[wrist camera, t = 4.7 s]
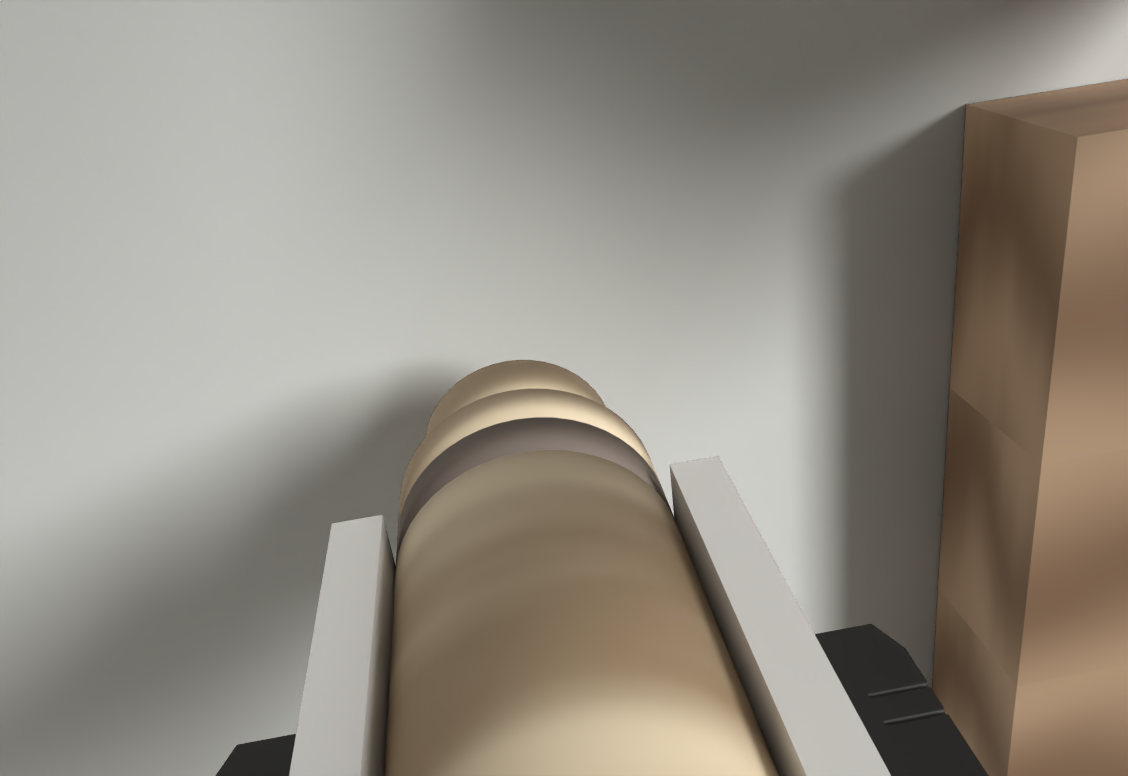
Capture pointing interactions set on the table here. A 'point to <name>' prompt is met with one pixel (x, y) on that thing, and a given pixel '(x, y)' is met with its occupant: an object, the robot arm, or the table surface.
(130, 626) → the table surface
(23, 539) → the table surface
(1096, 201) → the board
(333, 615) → the robot arm
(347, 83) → the table surface
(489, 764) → the peg
